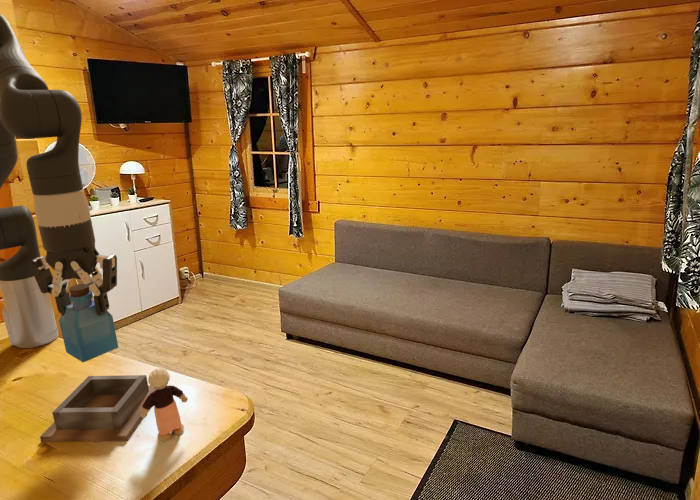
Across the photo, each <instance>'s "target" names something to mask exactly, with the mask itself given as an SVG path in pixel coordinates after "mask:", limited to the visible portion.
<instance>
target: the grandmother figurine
mask: <svg viewBox="0 0 700 500" xmlns="http://www.w3.org/2000/svg"><path fill="white" fill-rule="evenodd" d="M170 378H171V376H170V373H169V372H168V370H167V369H166V368H165V367H157V368H155V369H153V370H152V371H150V374H149V375H148V377H147V382H148V385H149V386H151V387H154V388H155V389H157V390H155V391H154V392H152V393H151V394H149V395H148V397H147V398H146V400H145V402H144V404H143V405H142V407H143V408H142V412H141V414H140V416H141V417H142V418H143V419H144V418H146V417H147V416H148V412H149V411H150V410H151V409H153V407H154V410H153V411H154V417H155V422H156V423H155V424H156V427H157V431H158V433H157V438H158V439H159V440H161V441H162V442H167V441H169V440H171V438H172V434H171V433H173V435H176V436H178V435H182V434H183V433H184V431H185V428H184V424H183V423H182V421H181V416H180V412H179V408H178V405H177V403H176V401H175V399H174V397H177V398H178V399H180V400H181V402H182V403H185V404H186V403H187V402H188V399H189V398H188V397H187V396H186V394H185V393H184V391H183V390H181V389H180V388H178V387H177V386H175V385H168V384H169V382H170ZM181 433H182V434H181Z"/></svg>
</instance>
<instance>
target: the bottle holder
mask: <svg viewBox="0 0 700 500" xmlns="http://www.w3.org/2000/svg"><path fill="white" fill-rule="evenodd" d="M155 390H157V389H155V388H154V387H151V386H150V385H149V382H148V377H147V375H145V374H141V375H140V374H138V375H137V374H135V375H131V374H130V375H125V374H124V375H88V376H87V377H86V378H85V379H84V380H83V381H82V382H80V384H79V385H78V386H77V387H76V388H75V389H74V390H72V392H71V393H70V394H69V395H68V396H67V397H66V398H65V399H64V400H62V402H61V403H60V404H59V405H57V407H56V408H55V409H54V410H53V411H52V418H53V423H51V424H50V425H49V427H48V428H47V429H46V430H45V431H44V432H43V433H41V434H40V436H39V439H40V442H46V443H47V442H113V441H114V442H119V441H120V442H121V441H122V442H124V441H128V440H130V438H131V436H132V434H133V433H134V432H135V430H136V429H137V427H138V426H139V425H140V423H141V422H142V421H143V419H144V418H142V417H141V416H140V414H141V412H142V408H143V407H142V405H143V404H144V402H145V400H146V398H147V397H148V395H149V394H151V393H152V392H154V391H155Z"/></svg>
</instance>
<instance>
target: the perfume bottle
mask: <svg viewBox="0 0 700 500" xmlns="http://www.w3.org/2000/svg"><path fill="white" fill-rule="evenodd" d="M68 292H69V298H70V302H71V305H68V306H66V308H65V314H64V315H63V316H62V315H60V317H59V319H58V322H59V326H60V331H61V335H62V340H63V344H64V348H65V353H66V354H68V355H70V356H71V357H73V358H75V359H76V360H78V361H80V362H81V363H85V362H89V361H90V360H92V359H94V358H97V357H99V356H102V355H105V354H107V353H109V352H111V351H114V350H117V349H119V343H118V340H117V339H118V338H117V332H116V328H115V327H116V326H115V323H114V317H113V314H111V312H109V311H108V310H107V311H105V314H103V315H97V312H96V308H95V303H94V298H93V296H94V294H93V292H92V291H91V289H90V288H89V286H87V285H85V284H84V283H79V284H78V283H77V284H73V285H72V286H70V287H68ZM92 298H93V299H92Z"/></svg>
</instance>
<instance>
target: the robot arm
mask: <svg viewBox="0 0 700 500" xmlns="http://www.w3.org/2000/svg"><path fill="white" fill-rule="evenodd" d="M82 115H83V114H82V109H81V106H80V104H79V102H78V100H77V99H76V98H75V97H74V95H73V94H71V93H70V92H68V91H66V90H64V89H49V86H48V85H47V83H46V82H45V80H44V79H43V77H42V76H41V75H40V74H39V73H38V72H37V71H36V70H35V68H34V67H33V66H32V65H31V63H30V62H29V60H28V59H27V57H26V54H25V52H24V49H23V48H22V46H21V43H20V42H19V40H18V37H17V36H16V33H15V31H14V30H13V27H12V26H11V24H10V22H9V21H8V19H6V17H5V16H4V15H3V14H1V13H0V190H1V188H2V187H3V185H4V184H5V183H6V182H7V180H8V178H9V177H10V175H11V174H12V172H13V170H14V168H15V166H16V164H17V162H18V158H19V157H18V156H19V155H18V147H17V139H16V137H17V138H19V139H23V140H24V139H26V140H30V139H31V140H32V139H34V140H35V139H46V138H56V142H55V145H54V147H53V148H52V149H50V150H48V151H46V152H45V151H44V152H42V153H38V154H35V155H31V156H30V157H28V158H27V161H26V170H27V175H28V178H29V184H30V188H31V193H32V196H33V209H34V213H35V217H36V223H37V226H38V231H39V236H40V240H41V243H42V248H43V249H44V251H45V252H46V254H45V256H43V255H41V251H40V248H39V242H38V234H37V228H36V224H35V219H34V217H33V214H32V212H31V211H30V209H29V208H27V206H25V205H14V206H13V205H12V206H6V207H1V208H0V251H2V250H3V251H4V250H7V249H11V248H17V247H19V249H18V251H17V252H16V253H14V254H13V255H12V256H11V257H9V258H8V259H6V260H4V261H2V262H0V292H1V296H2V301H3V305H4V307H3V308H2V310H1V313H2V316H3V317H2V318H3V321H4V324H5V329H6V331H7V335H8V338H9V342H10V346H15V347H16V348H19V349H32V348H36V347H41V346H44V345H47V344H49V343H51V342H53V341H55V340H56V339H57V338H58V337H59V329H58V326H57V321H56V317H55V311H54V307H53V305H52V299H51V295H52V296H53V297H54V299H55V303H56V309H57V311H58V313H59V314H61V315H62V316H63V315H64V314H65V308H66V306H68V305H71V304H72V302H70V298H69V295H70V291H68V288H69V287H68V286H69V282H70V281H71V280H72V279H76V280H81V281H82V282H83V284H85V285H87V286H89V290H91V291H92V295H93V301H94V303H95V308H96V312H97V315H103V314H105V311H108V310H109V309H110V302H109V299H108V298H109V297H108V292H111V291H112V290H113V289H114V288H115V287H117V285H118V256H117V255H116V254H114V253H113V254H110V255H104V254H100V253H99V251H98V250H97V249H96V238H95V233H94V227H93V223H92V216H91V212H90V208H89V202H88V199H87V197H86V194H85V189H84V184H83V181H82V175H81V172H80V171H81V170H80V164H79V154H80V153H79V150H80V149H79V148H80V138H81V137H80V136H81V129H82V128H81V127H82V118H83V116H82ZM98 264H99V268H100V269H102V273H101V271H100V270H99V268H98V267H97V265H98ZM50 267H51V268H52V270H53V271H54V273H52V271H51V269H50ZM52 274H53V275H52ZM61 315H60V316H61Z"/></svg>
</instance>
